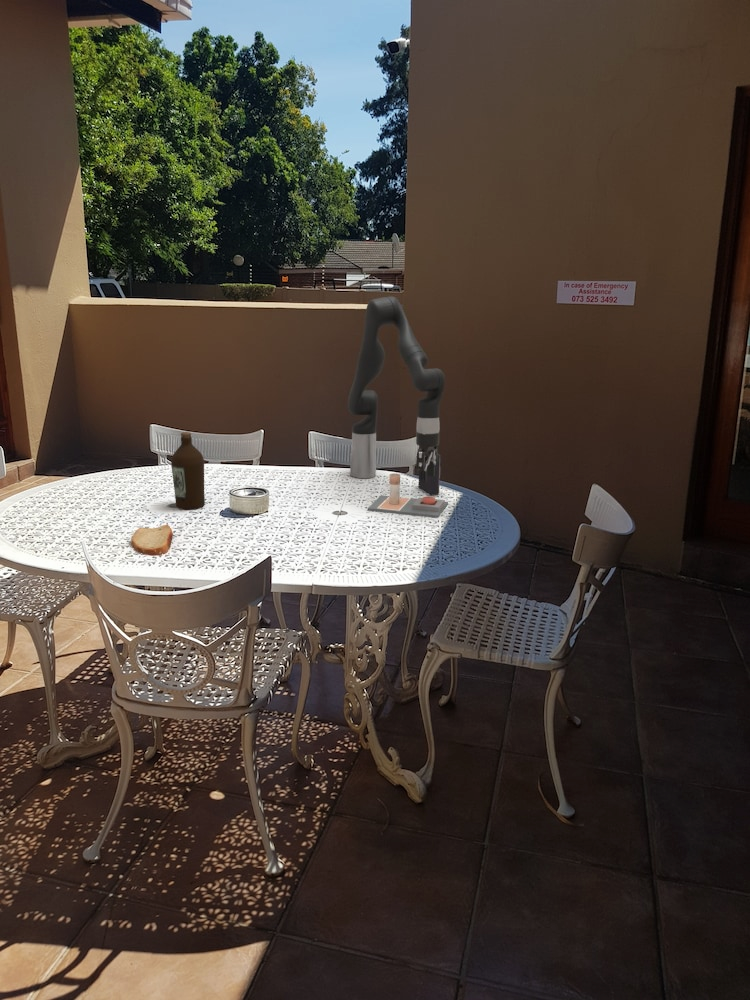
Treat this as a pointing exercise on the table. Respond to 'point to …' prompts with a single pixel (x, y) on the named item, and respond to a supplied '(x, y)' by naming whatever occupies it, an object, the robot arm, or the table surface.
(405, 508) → the board
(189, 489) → the olive oil
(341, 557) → the table surface
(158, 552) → the bread slice
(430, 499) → the button
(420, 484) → the dark grey upright block
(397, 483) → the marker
